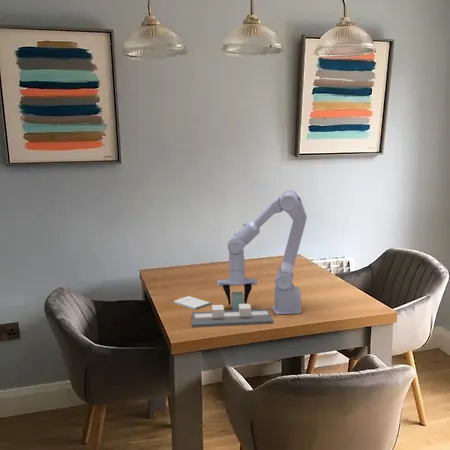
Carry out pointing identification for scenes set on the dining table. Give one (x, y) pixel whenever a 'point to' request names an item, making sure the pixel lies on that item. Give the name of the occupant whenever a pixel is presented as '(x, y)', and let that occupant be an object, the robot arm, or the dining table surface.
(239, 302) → the block
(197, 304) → the external hard drive
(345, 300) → the dining table surface
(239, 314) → the rail board
